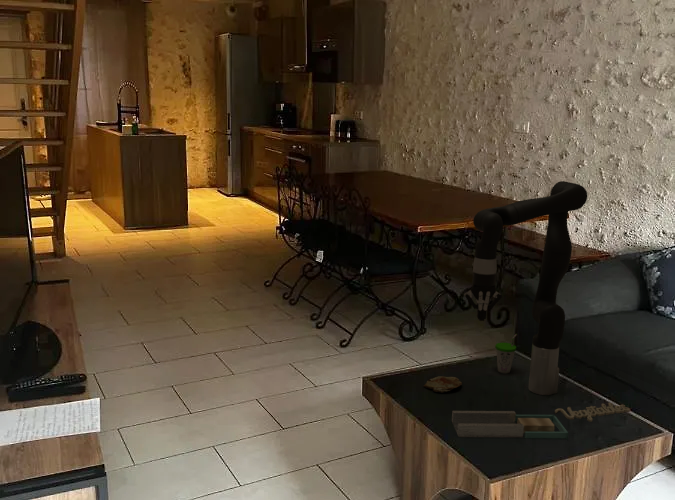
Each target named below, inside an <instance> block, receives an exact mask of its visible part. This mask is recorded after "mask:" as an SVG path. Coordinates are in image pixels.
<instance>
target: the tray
mask: <svg viewBox="0 0 675 500" xmlns="http://www.w3.org/2000/svg"><path fill="white" fill-rule="evenodd" d="M518 418H549V419H550V420H551V421H552V423H553V424H554V426H555V427H556V428H557V429H558V431H554V432H525V433H524V438H525V439H565V440H567V441H568V440H569V432H568V430H567V429H566V428H565V427H564V425H563V424H562V422H561V421H560V420H559V419H558V417H557V416H556V415H555V414H516V416H515V422H517V420H518Z"/></svg>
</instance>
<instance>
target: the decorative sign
mask: <svg viewBox="0 0 675 500" xmlns="http://www.w3.org/2000/svg"><path fill="white" fill-rule="evenodd" d="M607 404H608V405H606V404H605V403H601V406H600V407H597V406H596V405H594V406H593V405H590V406H588V407H587V406H586V407H585V409H582V410H581V409H579V410H578V411H577V410H572V407H571V406H568V407H567V409H566V410H564V409H563V408H556V409H554V414H558V413H559V412H561V413H562V415H563V416H564V417H565V418H566V419H567V420H575V418H576V419H579V420H581V419H582V418H584V419H586V421H587V422H590V423H593V418H594V417H601V416H605V415H606V416H607V415H615V413H616V414H621V413H622V414H624V413H630V411H631V408H629V407H627V406H626V405H625V404H620V405H614V404H613V403H612V402H608V403H607ZM567 412H568V413H567Z"/></svg>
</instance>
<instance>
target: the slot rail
mask: <svg viewBox="0 0 675 500" xmlns="http://www.w3.org/2000/svg"><path fill="white" fill-rule="evenodd" d="M451 414H452V415H451V422H452V425H453V428H454V430H455V432H456V434H457V437H458V438H524V433H523V431H524V425H523V424H517V423H516V421H515V416H516V415H517V413H516V412H515V410H452V413H451Z"/></svg>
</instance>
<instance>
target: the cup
mask: <svg viewBox="0 0 675 500" xmlns="http://www.w3.org/2000/svg"><path fill="white" fill-rule="evenodd" d="M517 336H518V334H517V333H515V334H514V335H513V336H512V338H511V343H509V342H498V343H496V344H495V345H494V346H495V348H494V349H496V365H497V371H498V372H499V373H500V374H510V372H511V370H512V369H511V368H512V365H513V361H514V356H515V352H516V350H517V346H516V344H514V339H515V337H517Z"/></svg>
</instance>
